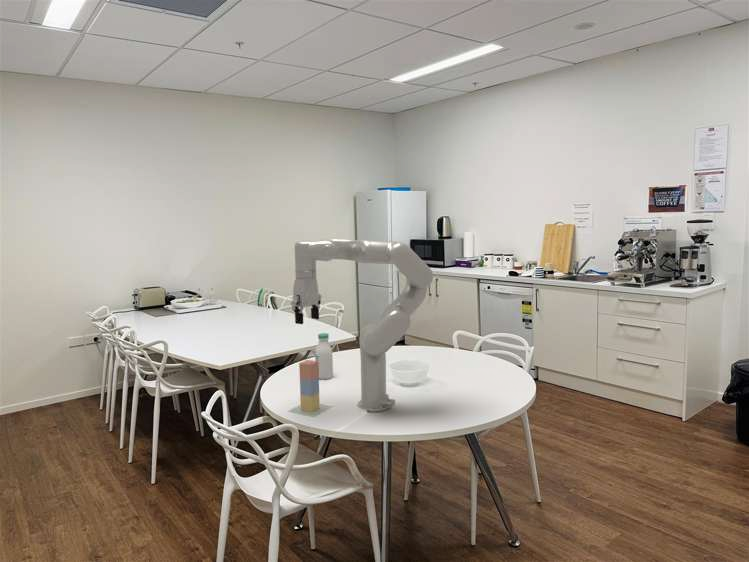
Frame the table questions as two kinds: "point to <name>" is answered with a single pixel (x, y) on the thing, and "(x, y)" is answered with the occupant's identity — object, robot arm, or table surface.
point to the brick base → (309, 402)
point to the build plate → (312, 414)
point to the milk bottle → (324, 357)
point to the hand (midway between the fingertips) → (307, 321)
